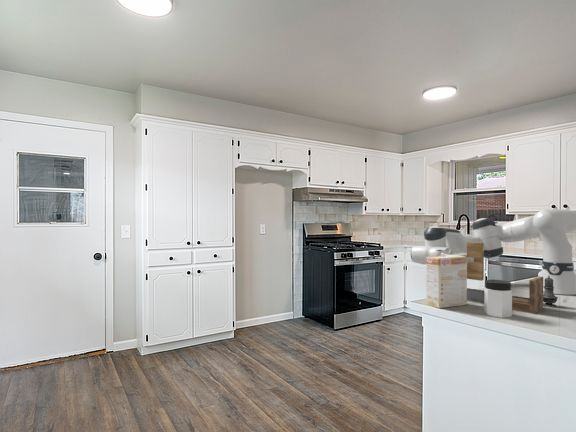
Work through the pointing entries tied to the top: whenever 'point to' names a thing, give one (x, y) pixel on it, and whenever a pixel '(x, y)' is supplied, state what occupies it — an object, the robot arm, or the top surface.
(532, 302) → the walnut rack
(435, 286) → the coffeecake box
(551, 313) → the top surface
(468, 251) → the wooden block
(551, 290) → the salt shaker
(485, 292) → the jar
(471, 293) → the slate holder
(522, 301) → the offcut boards
